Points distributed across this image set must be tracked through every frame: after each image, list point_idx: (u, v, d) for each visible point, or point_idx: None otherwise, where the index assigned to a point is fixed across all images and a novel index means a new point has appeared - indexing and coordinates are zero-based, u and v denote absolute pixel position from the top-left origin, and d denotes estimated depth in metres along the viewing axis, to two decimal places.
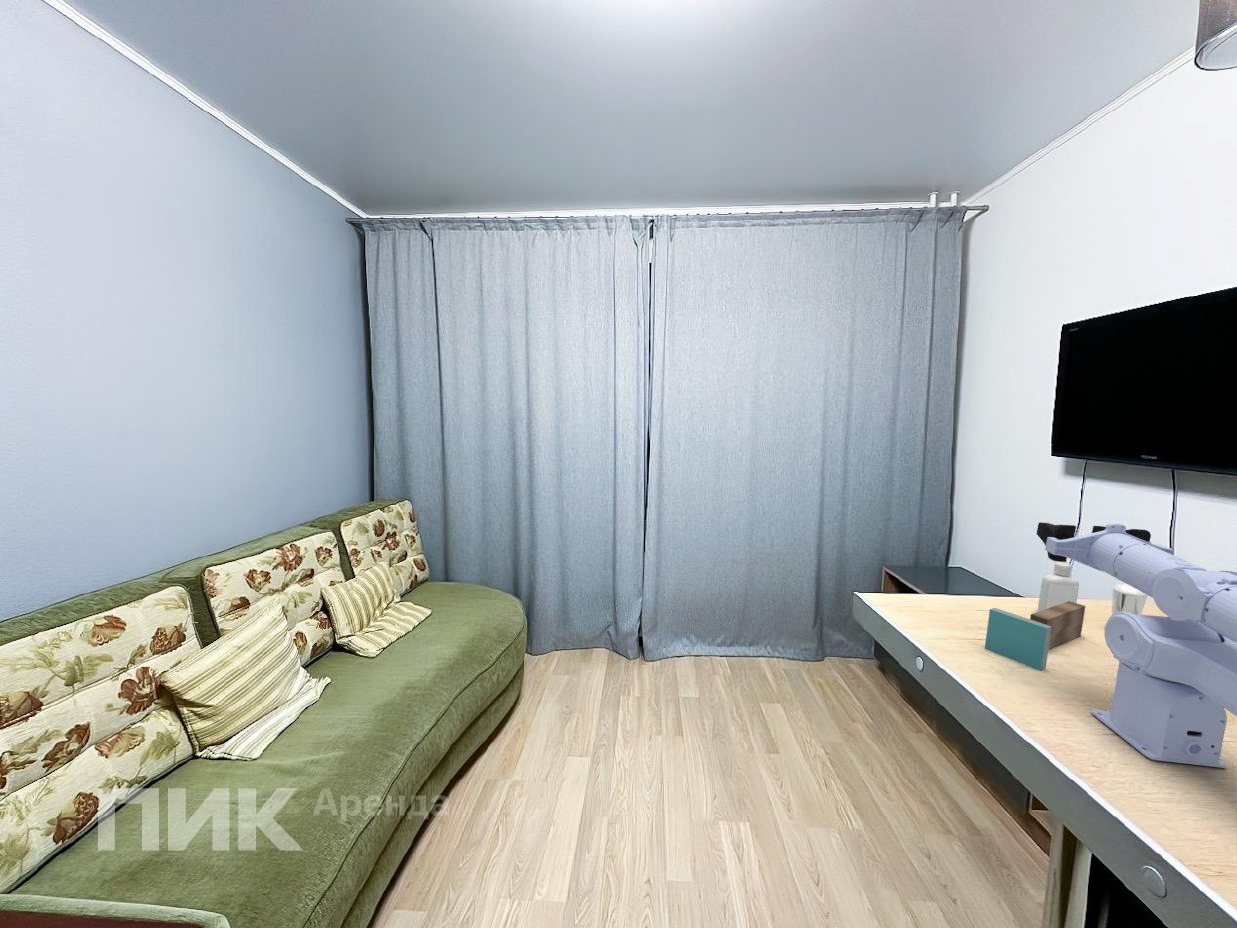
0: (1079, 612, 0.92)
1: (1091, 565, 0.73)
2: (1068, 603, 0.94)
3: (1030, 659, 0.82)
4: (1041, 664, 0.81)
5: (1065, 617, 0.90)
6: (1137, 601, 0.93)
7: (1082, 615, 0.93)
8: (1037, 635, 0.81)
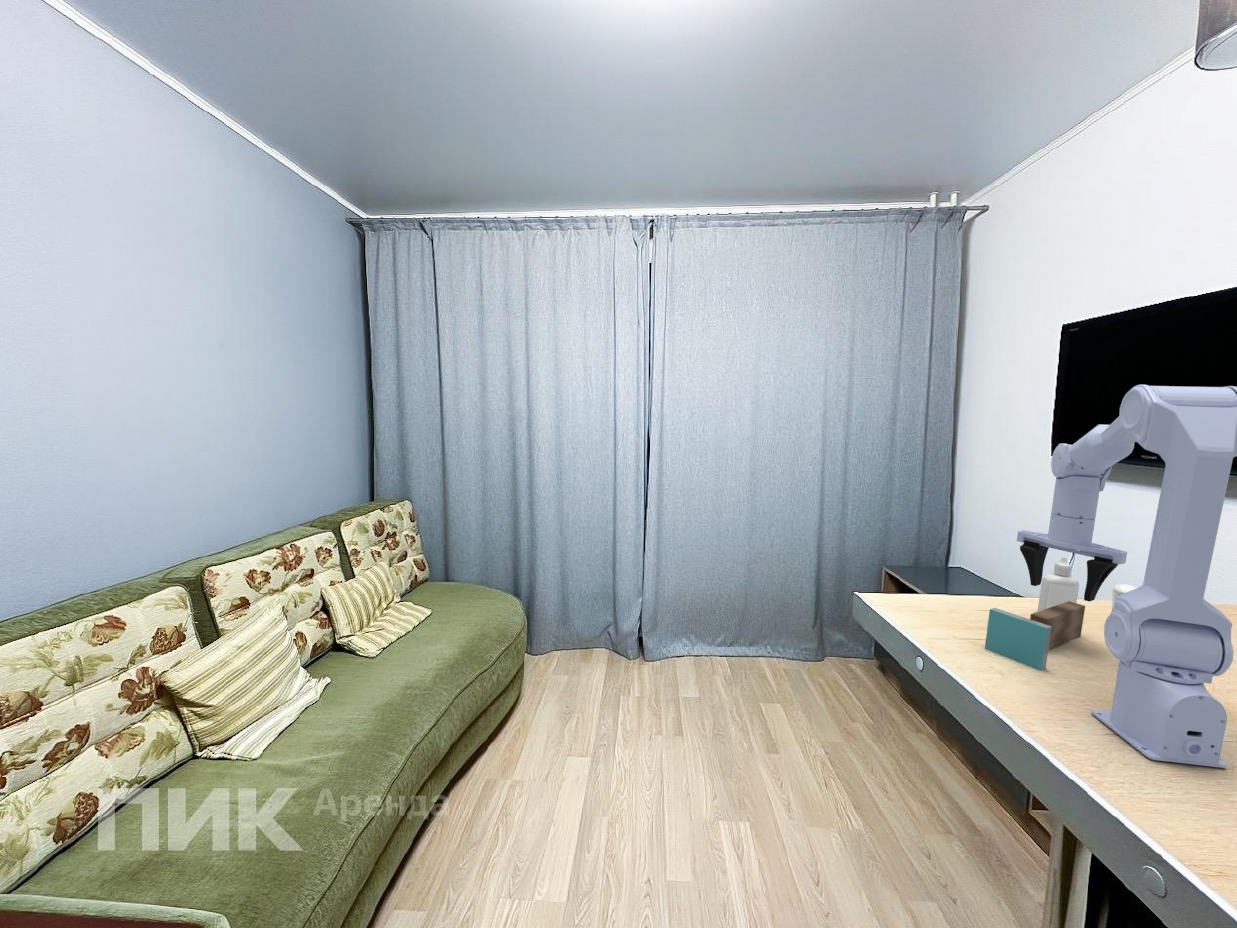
0: (1079, 612, 0.92)
1: (1047, 538, 0.90)
2: (1068, 603, 0.94)
3: (1030, 659, 0.82)
4: (1041, 664, 0.81)
5: (1065, 617, 0.90)
6: None
7: (1082, 615, 0.93)
8: (1037, 635, 0.81)
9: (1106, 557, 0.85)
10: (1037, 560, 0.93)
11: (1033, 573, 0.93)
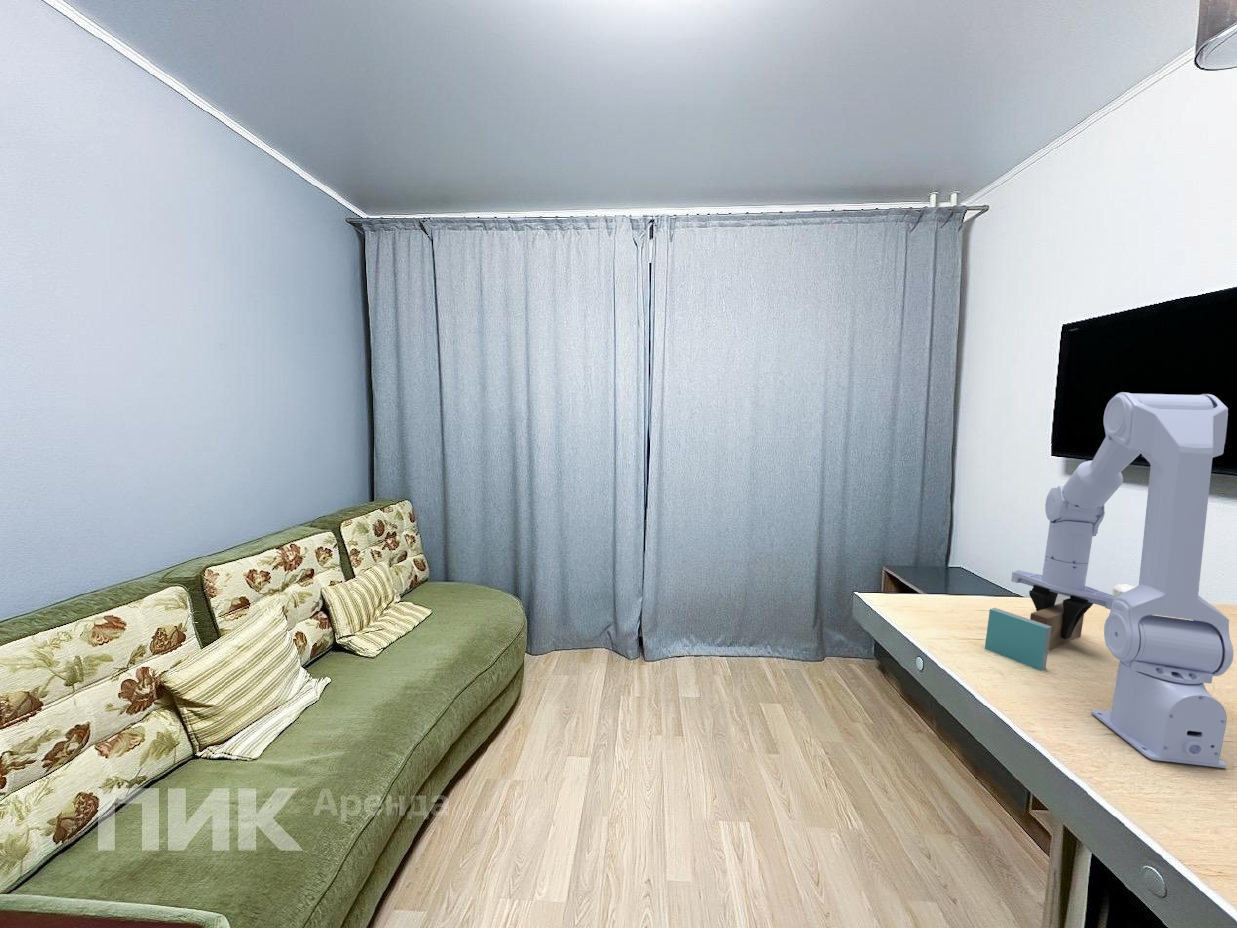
0: None
1: (1041, 581, 0.91)
2: None
3: (1030, 659, 0.82)
4: (1041, 664, 0.81)
5: None
6: None
7: None
8: (1037, 635, 0.81)
9: (1081, 597, 0.88)
10: (1047, 606, 0.92)
11: None
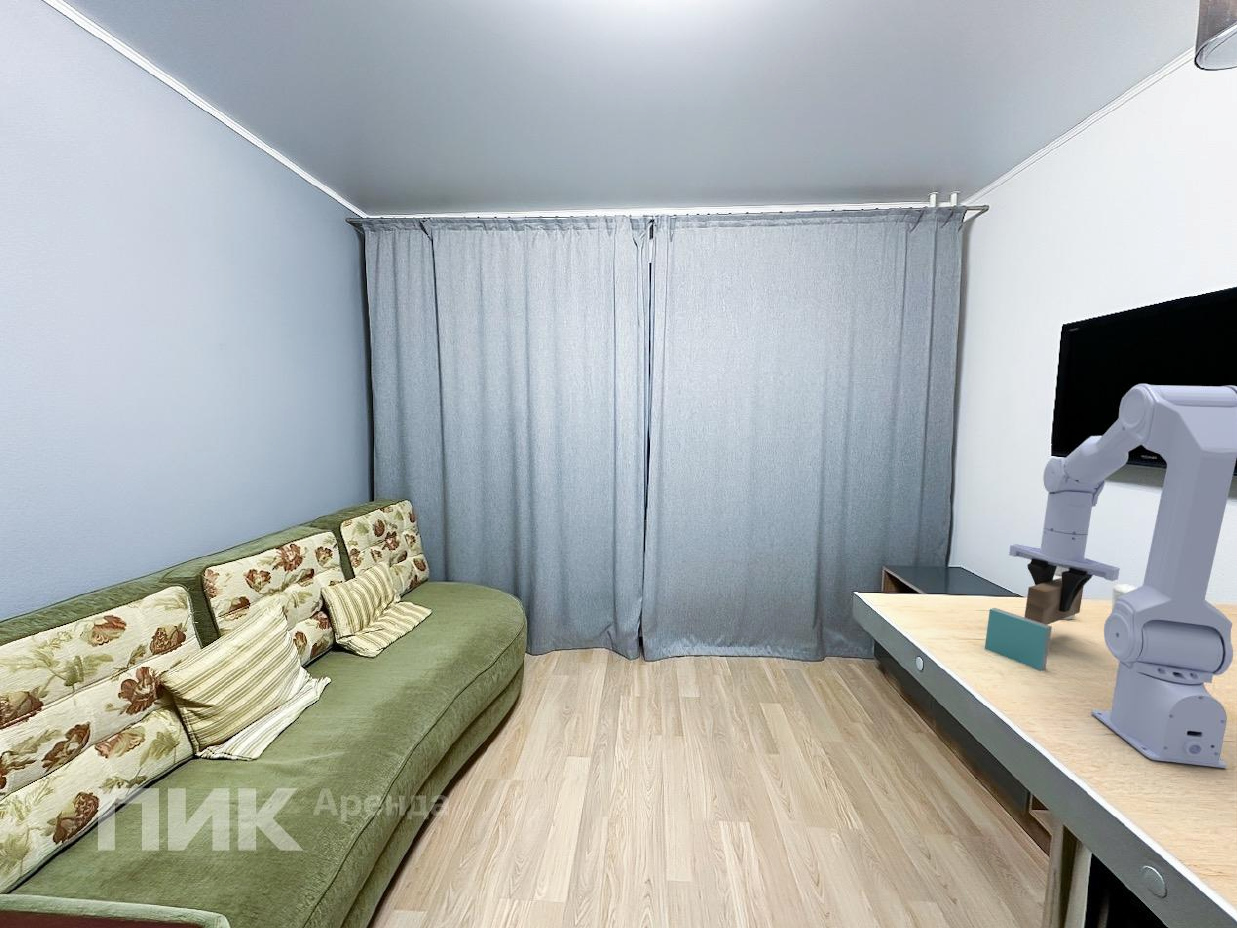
0: None
1: (1040, 553, 0.90)
2: None
3: (1030, 659, 0.82)
4: (1041, 664, 0.81)
5: None
6: None
7: (1081, 589, 0.92)
8: (1037, 635, 0.81)
9: (1080, 569, 0.86)
10: (1045, 579, 0.90)
11: None
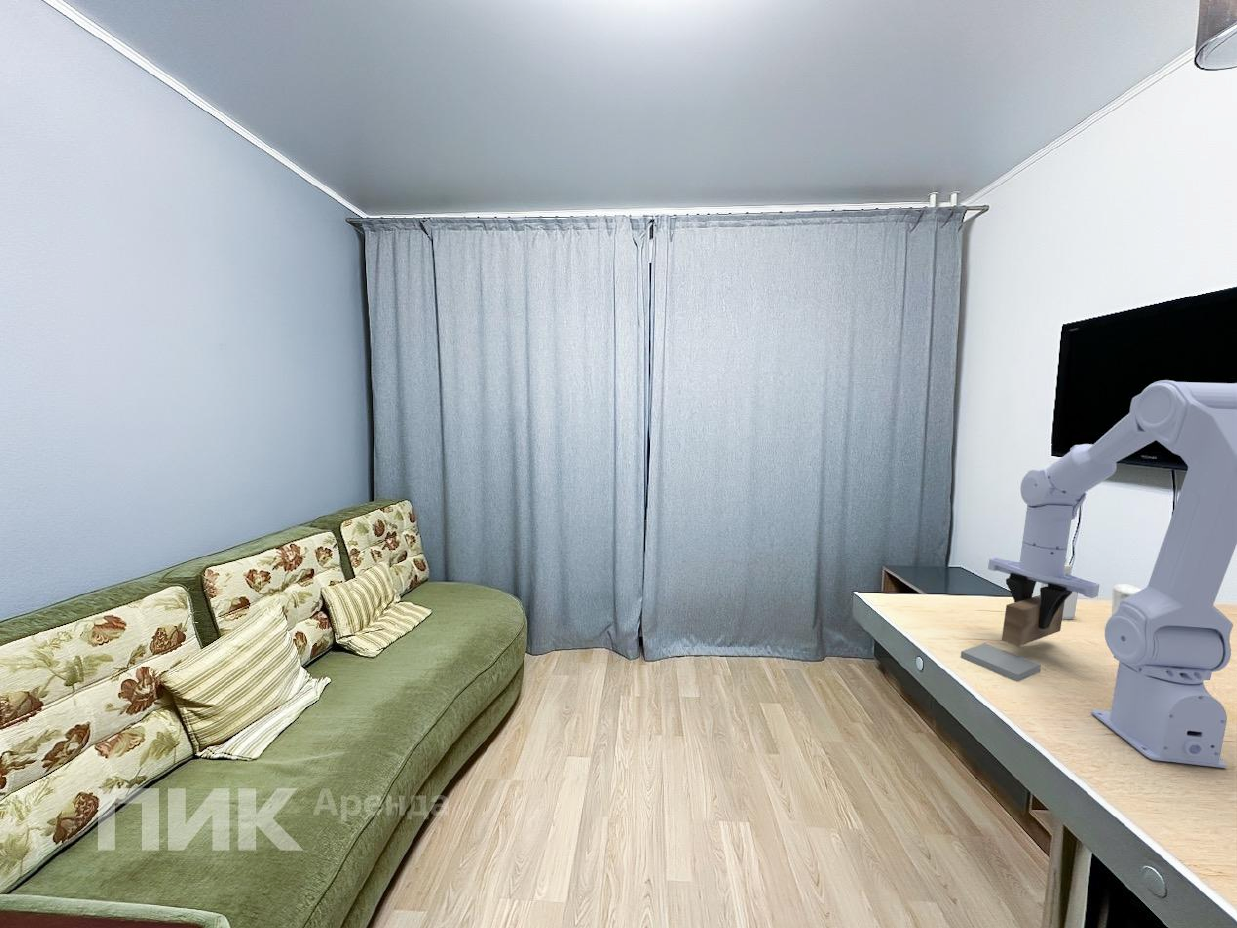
0: None
1: (1018, 568, 0.86)
2: None
3: None
4: None
5: None
6: None
7: (1062, 607, 0.89)
8: None
9: (1060, 584, 0.83)
10: (1024, 594, 0.87)
11: None
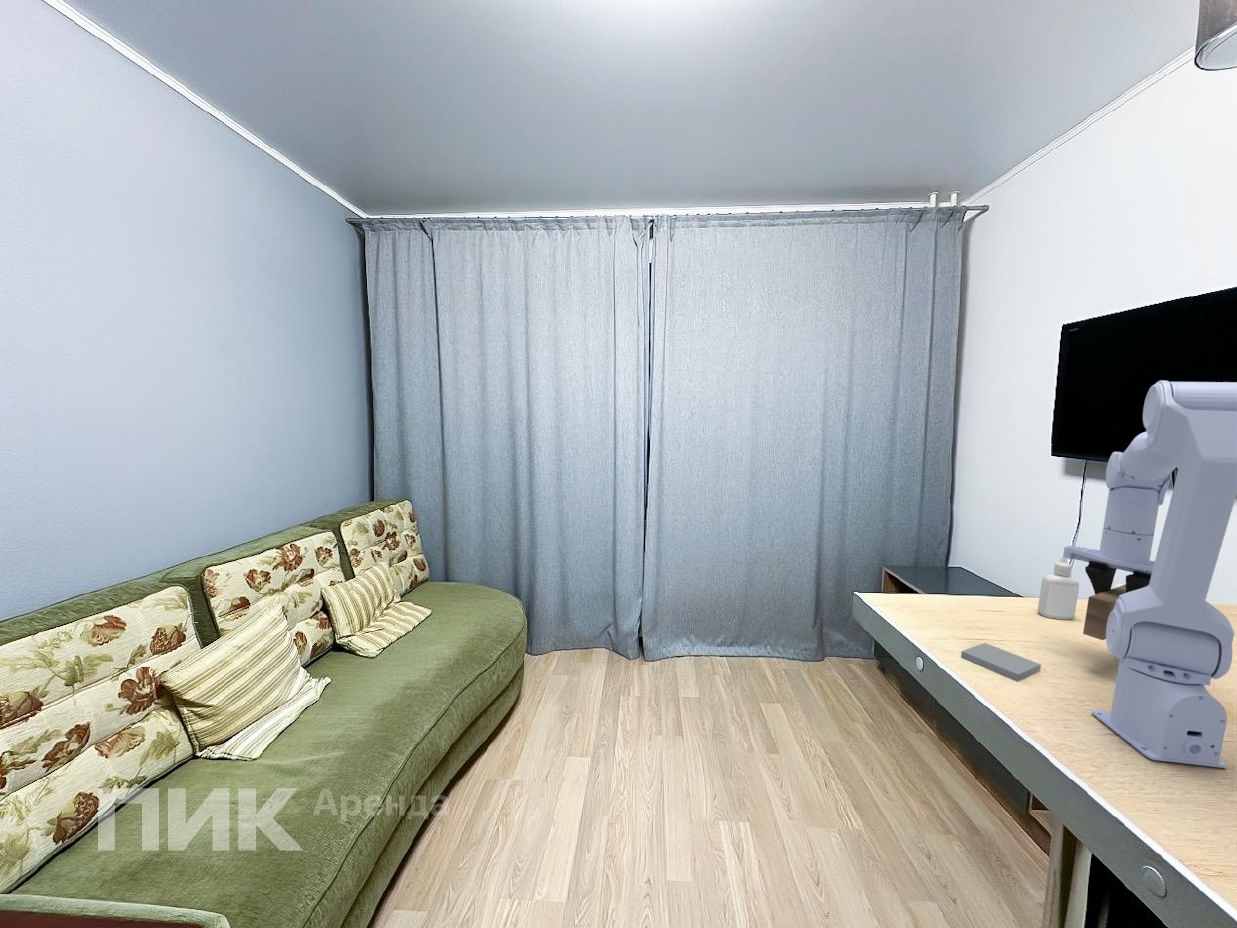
0: None
1: (1100, 555, 0.83)
2: (1125, 586, 0.86)
3: None
4: None
5: None
6: None
7: None
8: None
9: (1146, 572, 0.80)
10: (1105, 583, 0.83)
11: None
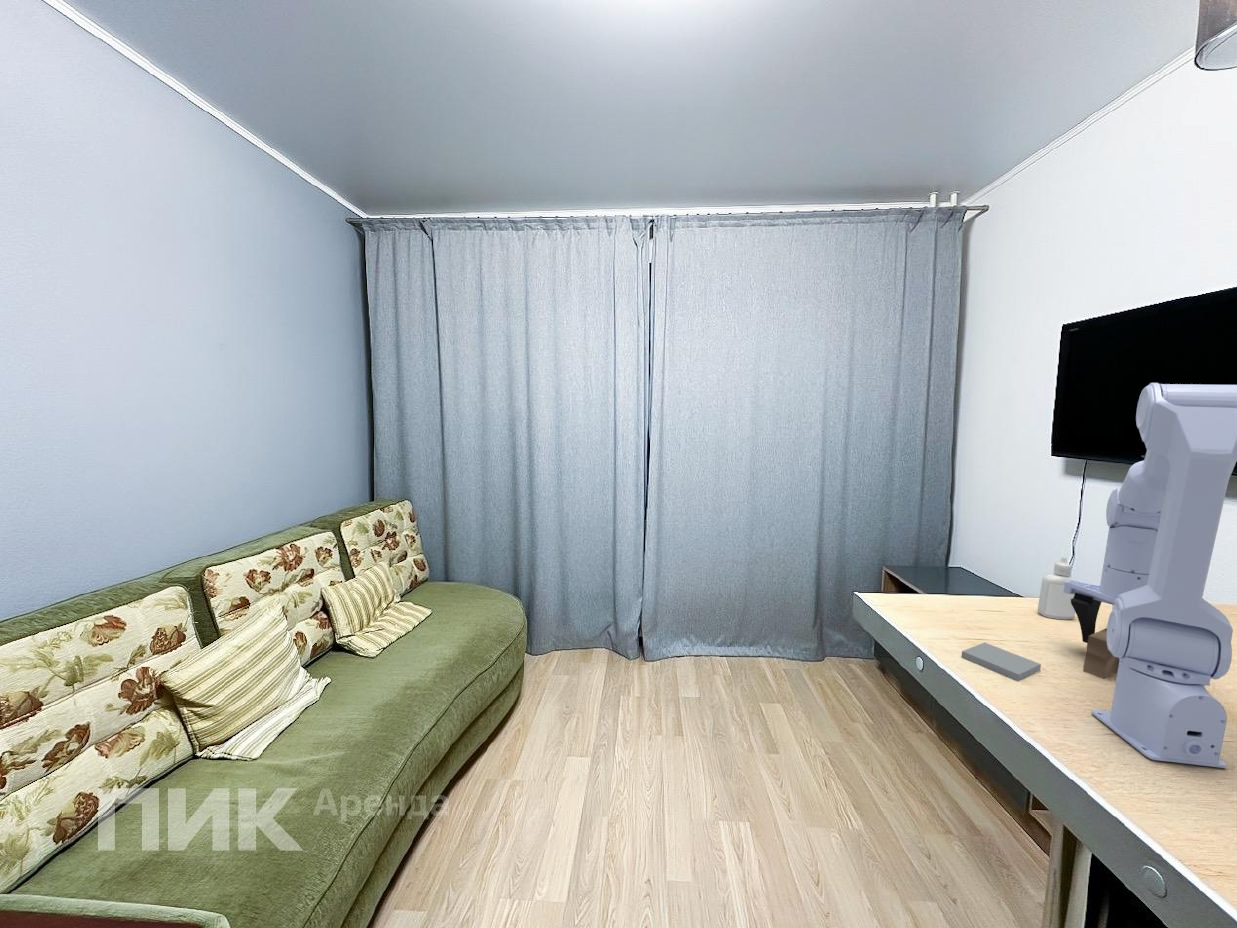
0: None
1: (1100, 592, 0.83)
2: None
3: None
4: None
5: None
6: None
7: None
8: None
9: None
10: (1090, 615, 0.85)
11: (1086, 629, 0.86)
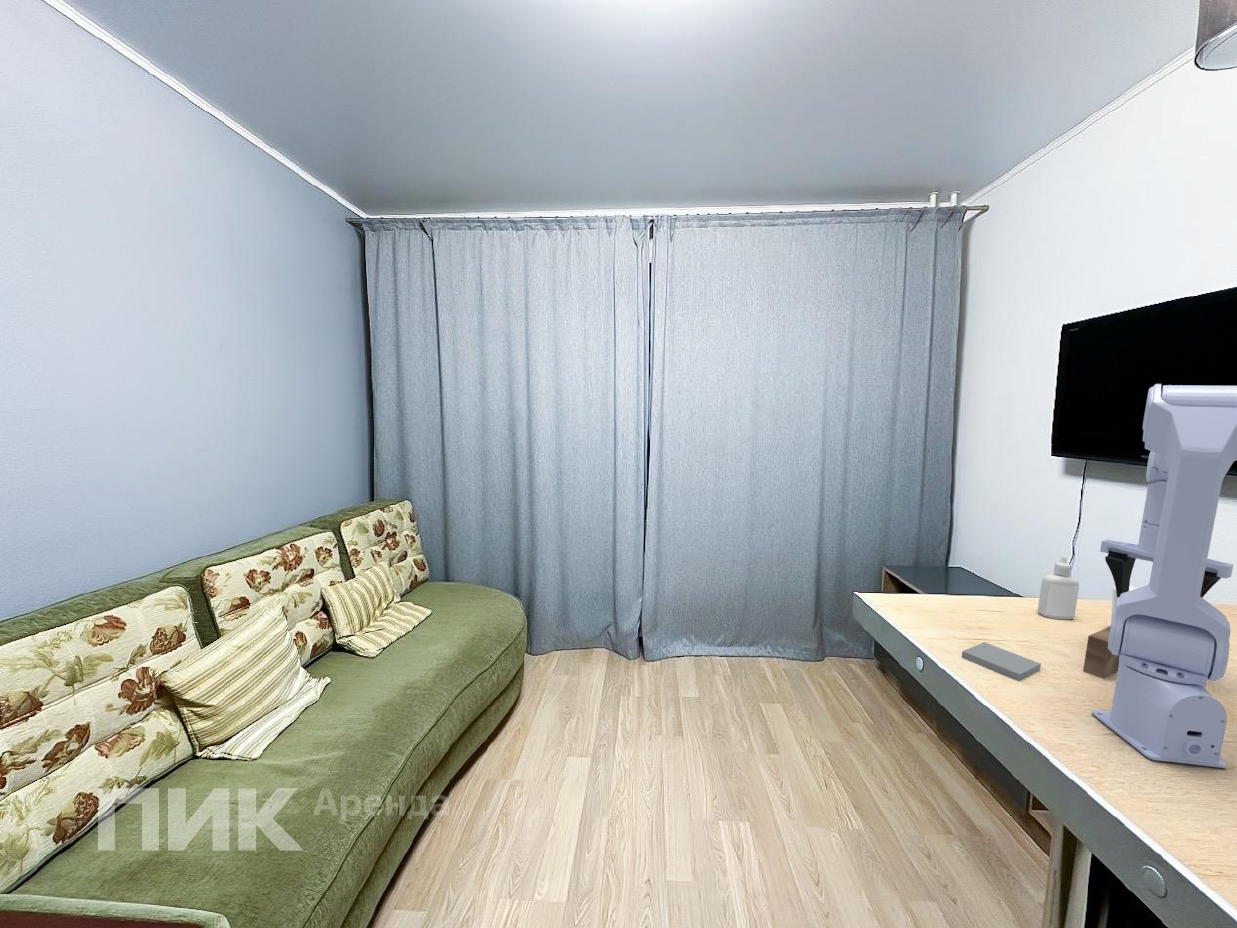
0: None
1: (1139, 549, 0.84)
2: None
3: None
4: None
5: None
6: None
7: None
8: None
9: (1208, 570, 0.78)
10: (1125, 572, 0.86)
11: (1120, 586, 0.86)
